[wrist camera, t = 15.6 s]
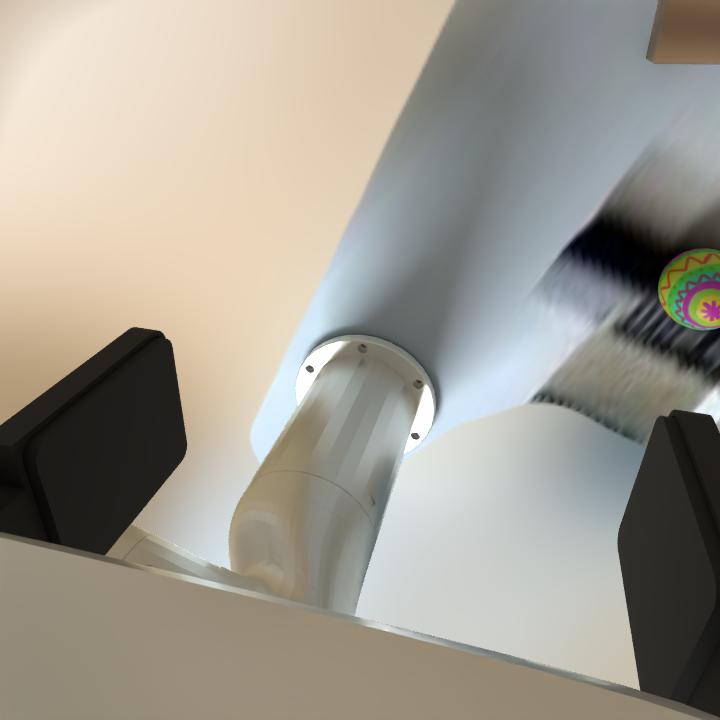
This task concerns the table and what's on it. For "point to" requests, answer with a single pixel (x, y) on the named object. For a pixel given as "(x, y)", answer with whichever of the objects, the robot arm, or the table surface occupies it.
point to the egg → (692, 289)
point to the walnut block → (686, 32)
